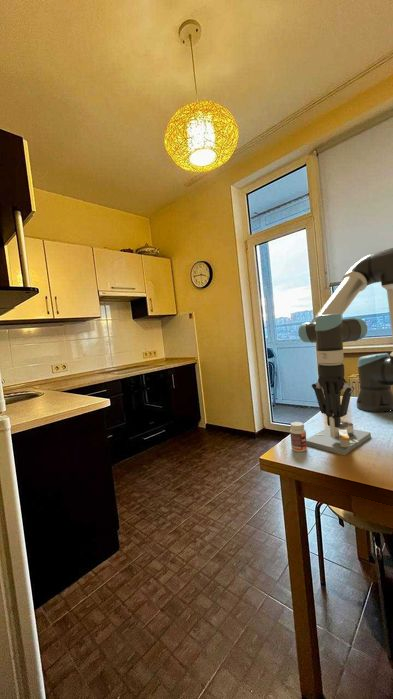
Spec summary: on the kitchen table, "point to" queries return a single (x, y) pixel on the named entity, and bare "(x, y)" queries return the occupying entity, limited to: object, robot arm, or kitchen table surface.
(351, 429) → the silver ladle
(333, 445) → the stand board
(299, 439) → the pill bottle
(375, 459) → the kitchen table surface
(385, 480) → the kitchen table surface
